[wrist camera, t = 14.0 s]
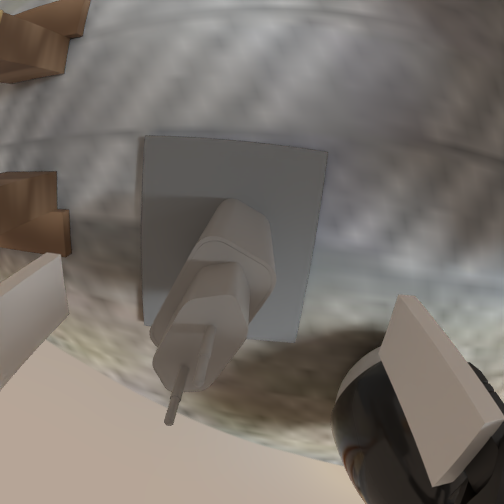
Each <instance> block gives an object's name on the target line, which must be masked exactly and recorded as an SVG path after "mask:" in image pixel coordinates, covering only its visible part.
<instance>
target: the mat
mask: <svg viewBox="0 0 504 504" xmlns="http://www.w3.org/2000/svg"><path fill="white" fill-rule="evenodd" d="M327 157H328V152H324V151H318V150H311V149H304V148H297V147H290V146H282V145H274V144H265V143H256V142H246V141H236V140H224V139H211V138H196V137H177V136H145V145H144V160H143V179H142V211H141V263H142V294H143V313H144V325H146V326H152V324H153V322H154V320H155V318H156V316H157V314H158V312H159V310H160V309H161V307H162V305H163V303H164V301H165V299H166V297H167V295H168V294H169V292H170V290H171V288H172V286H173V284H174V283H175V281H176V279H177V277H178V275H179V274H180V272H181V270H182V268H183V266H184V264H185V263H186V261H187V259H188V257H189V256H190V254H191V252H192V250H193V248H194V247H195V245H196V243H197V242H198V240H199V238H200V237H201V235H202V233H203V231H204V230H205V228H206V226H207V225H208V223H209V221H210V220H211V218H212V216H213V215H214V213H215V211H216V210H217V208H218V207H219V205H220V204H221V203H222V202H223V201H224V200H226V199H237V200H239V201H241V202H242V203H244V204H246V205H247V206H249V207H251V208H252V209H254V210H256V211H257V212H259V213H261V214H262V215H264V216H265V217H266V218H267V219H268V221H269V224H270V231H271V238H272V246H273V255H274V263H275V271H276V285H275V288H274V289H273V291H272V293H271V294H270V296H269V297H268V298H267V300H266V301H265V303H264V304H263V305H262V307H261V308H260V310H259V311H258V312H257V314H256V315H255V317H254V318H253V319H252V321H251V322H250V323H249V325H248V334H247V338H246V339H254V340H265V341H277V342H290V343H295V342H296V337H297V332H298V327H299V322H300V318H301V313H302V308H303V303H304V297H305V292H306V287H307V282H308V276H309V271H310V265H311V260H312V254H313V248H314V243H315V237H316V231H317V225H318V218H319V212H320V206H321V199H322V192H323V185H324V178H325V171H326V164H327Z"/></svg>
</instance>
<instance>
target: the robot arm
mask: <svg viewBox="0 0 504 504" xmlns="http://www.w3.org/2000/svg"><path fill="white" fill-rule="evenodd" d="M68 315H69V309H68V303H67V297H66V291H65V284H64V276H63V269H62V260H61V255H60V254H54V253H48V252H47V253H45V254H44V255H42V256H40V257H39V258H37V259H36V260H34V261H33V262H31V263H29V264H28V265H26V266H25V267H23V268H22V269H20V270H19V271H17V272H16V273H14V274H13V275H11V276H10V277H8V278H7V279H6V280H4V281H3V282H1V283H0V390H1V389H2V388H3V387H4V385H5V384H6V383H7V382H8V381H9V380H10V378H11V377H12V376H13V375H14V374H15V373H16V372H17V370H18V369H19V368H20V367H21V366H22V365H23V364H24V362H25V361H26V360H27V359H28V358H29V357H30V356H31V355H32V354H33V352H34V351H35V350H36V349H37V348H38V347H39V346H40V345H41V344H42V343H43V342H44V340H45V339H46V338H47V337H48V336H49V335H50V334H51V333H52V332H53V331H54V330H55V329H56V328H57V327H58V326H59V324H60V323H61V322H62V321H63V320H64V319H65V318H66V317H67V316H68ZM378 354H379V356H380V359H381V361H382V363H383V365H384V368H385V370H386V372H387V374H388V377H389V379H390V381H391V383H392V386H393V388H394V390H395V393H396V395H397V397H398V400H399V402H400V405H401V407H402V409H403V412H404V414H405V417H406V419H407V422H408V424H409V427H410V429H411V432H412V434H413V437H414V439H415V442H416V444H417V447H418V450H419V452H420V455H421V458H422V460H423V463H424V466H425V468H426V471H427V474H428V477H429V479H430V482H431V485H432V487H435V486H439V485H443V484H447V483H451V482H453V481H454V480H455V479H456V478H457V477H458V476H459V475H460V474H461V473H462V472H463V471H465V473H466V475H467V478H466V479H465V480H464V481H463V483H462V484H461V485H460V486H459V487H458V488H457V489H456V490H455V491H454V492H453V493H451V495H450V496H449V498H448V499H450V500H451V499H452V498H453V497H454V496H455V495H456V494H457V493H458V496H457V498H456V500H455V503H454V504H504V403H503V402H502V400H501V399H500V397H499V396H498V395H497V393H496V392H494V389H493V387H492V386H491V385H490V384H488V380H487V379H486V378H485V376H484V375H483V374H482V372H481V371H480V370H479V369H477V368H476V367H475V366H474V365H472V364H471V363H470V362H467V361H466V360H465V359H464V357H463V356H462V354H461V353H460V352H459V350H458V349H457V348H456V346H455V345H454V344H453V343H452V341H451V340H450V339H449V337H448V336H447V335H446V333H445V332H444V331H443V330H442V328H441V327H440V326H439V325H438V323H437V322H436V321H435V320H434V318H433V317H432V316H431V315H430V313H429V312H428V311H427V310H426V308H425V307H424V306H423V305H422V304H421V302H420V301H419V300H418V299H417V297H416V296H411V295H399V294H398V297H397V300H396V303H395V307H394V310H393V313H392V316H391V319H390V322H389V325H388V328H387V331H386V334H385V337H384V339H383V342H382V345H381V348H380V350H379V353H378Z"/></svg>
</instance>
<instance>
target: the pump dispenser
mask: <svg viewBox="0 0 504 504" xmlns="http://www.w3.org/2000/svg"><path fill="white" fill-rule="evenodd" d="M380 348H381V346H380V347H378V348H376V349H374V350H373V351H371V352H369V353H368V354H366V355H365V356H364V357H362V358H361V359H360V360H359V361H358V362H357V363H356V364H355V365H354V366H353V367H352V368H351V369H350V370H349V372H348V373H347V375H346V376H345V378H344V379H343V381H342V383H341V385H340V388H339V390H338V393H337V397H336V402H335V405H334V408H333V410H332V414H331V428H332V433H333V437H334V441H335V444H336V447H337V450H338V452H339V455H340V457H341V460H342V462H343V465H344V467H345V469H346V471H347V473H348V475H349V478H350V480H351V481H352V483H353V485H354V487H355V488H356V490H357V492H358V493H359V495H360V496H361V498H362V499H363V501H364V502H365V504H454V503H455V500H456V498H457V496H458V493H457V494H456V495H455V496H454V497H453V498H452V499H451V500H450V499H448V498H449V496H450V495H451V493H453V492H454V491H455V490H456V489H457V488H458V487H459V486H460V485H461V484H462V483H463V481H464V480H465V479H466V478H467V475H466V473H465V471H463V472H462V473H461V474H460V475H459V476H458V477H457V478H456V479H455V480H454V481H453V482H451V483H447V484H443V485H439V486H435V487H432V485H431V482H430V479H429V477H428V474H427V471H426V468H425V466H424V463H423V460H422V458H421V455H420V452H419V450H418V447H417V444H416V442H415V439H414V437H413V434H412V432H411V429H410V427H409V424H408V422H407V419H406V417H405V414H404V412H403V409H402V407H401V405H400V402H399V400H398V397H397V395H396V393H395V390H394V388H393V386H392V383H391V381H390V379H389V377H388V374H387V372H386V370H385V368H384V365H383V363H382V361H381V359H380V356H379V354H378V353H379V350H380Z"/></svg>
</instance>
